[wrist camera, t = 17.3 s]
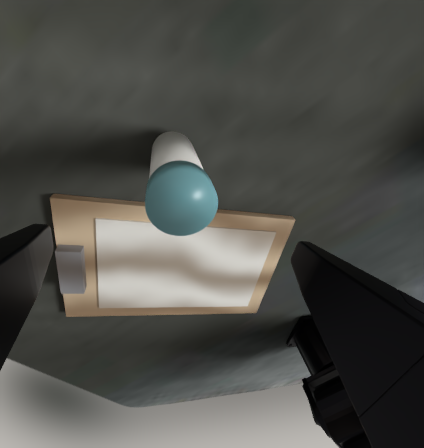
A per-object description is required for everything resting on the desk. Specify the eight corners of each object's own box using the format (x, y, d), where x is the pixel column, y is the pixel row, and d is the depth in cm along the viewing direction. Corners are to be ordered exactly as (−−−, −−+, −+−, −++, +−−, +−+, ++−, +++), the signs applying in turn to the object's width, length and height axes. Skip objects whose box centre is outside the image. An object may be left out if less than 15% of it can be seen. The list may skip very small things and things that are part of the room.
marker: (189, 171, 21) (210, 238, 13) (149, 166, 20) (142, 233, 12) (196, 130, 20) (225, 176, 11) (152, 122, 19) (148, 166, 10)
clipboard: (254, 308, 33) (258, 319, 31) (68, 310, 27) (63, 324, 25) (291, 216, 26) (300, 225, 24) (53, 193, 20) (44, 203, 19)
